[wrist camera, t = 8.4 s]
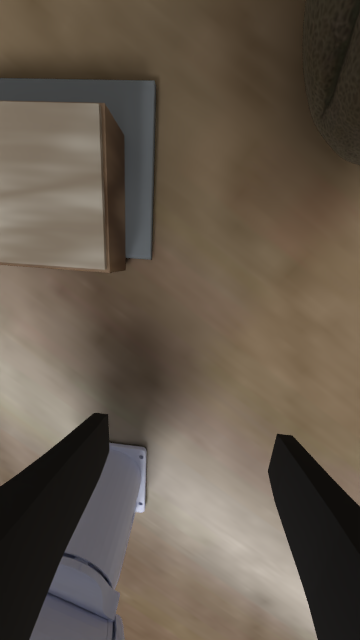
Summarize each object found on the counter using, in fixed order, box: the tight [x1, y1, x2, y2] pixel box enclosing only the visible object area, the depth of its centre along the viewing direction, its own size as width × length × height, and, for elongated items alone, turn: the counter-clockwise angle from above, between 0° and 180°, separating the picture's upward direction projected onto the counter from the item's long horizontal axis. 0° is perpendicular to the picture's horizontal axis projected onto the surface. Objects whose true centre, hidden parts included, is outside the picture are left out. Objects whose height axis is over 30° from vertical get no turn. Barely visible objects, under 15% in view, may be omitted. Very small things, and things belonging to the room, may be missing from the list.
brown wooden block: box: [0, 100, 126, 273], centre depth 14 cm, size 4×10×9 cm
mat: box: [0, 78, 156, 259], centre depth 16 cm, size 11×14×1 cm
